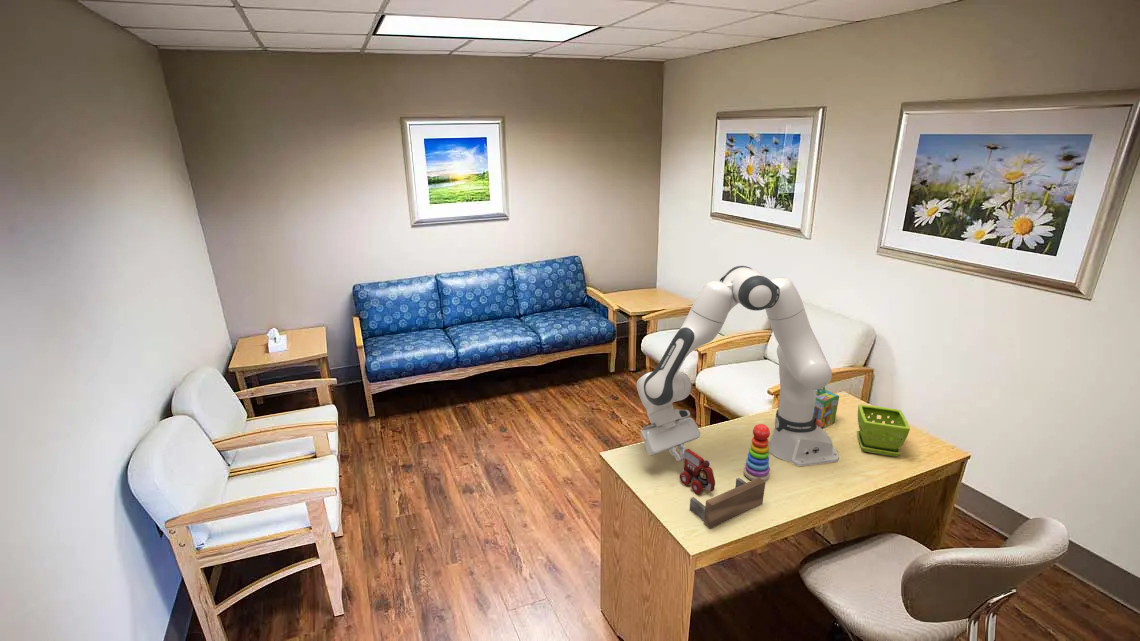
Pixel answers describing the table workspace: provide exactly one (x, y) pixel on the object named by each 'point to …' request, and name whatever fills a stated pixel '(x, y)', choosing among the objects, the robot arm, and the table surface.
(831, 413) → the chalk box
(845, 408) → the table surface
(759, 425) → the stacking toy
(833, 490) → the table surface
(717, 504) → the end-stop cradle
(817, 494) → the table surface
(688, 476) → the toy fire truck
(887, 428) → the flower pot
